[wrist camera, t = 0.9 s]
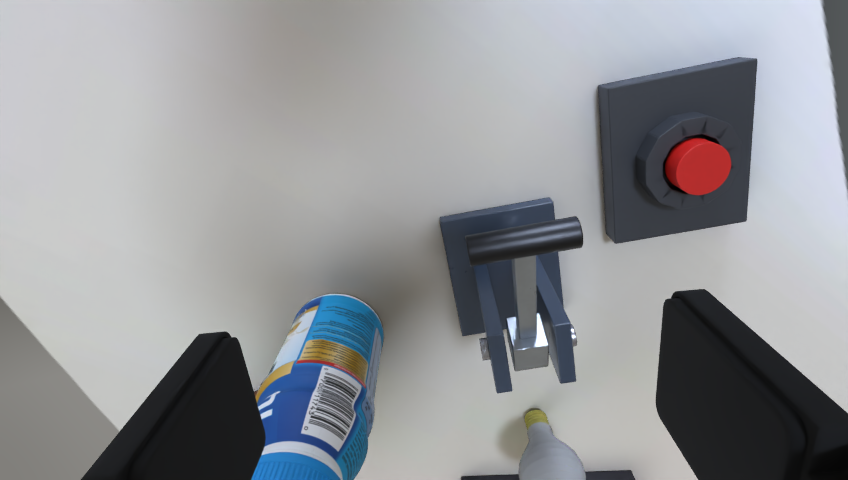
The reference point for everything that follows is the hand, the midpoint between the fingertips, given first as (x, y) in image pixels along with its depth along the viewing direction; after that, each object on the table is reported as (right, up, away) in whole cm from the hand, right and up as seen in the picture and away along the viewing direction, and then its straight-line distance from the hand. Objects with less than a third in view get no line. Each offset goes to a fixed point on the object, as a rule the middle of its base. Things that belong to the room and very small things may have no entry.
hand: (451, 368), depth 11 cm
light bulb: (+10, -14, +37) cm, 41 cm away
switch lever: (+5, 0, +18) cm, 19 cm away
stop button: (+18, +8, +23) cm, 31 cm away
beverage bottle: (-8, -5, +34) cm, 35 cm away
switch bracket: (+6, +1, +31) cm, 31 cm away
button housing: (+18, +10, +27) cm, 34 cm away
